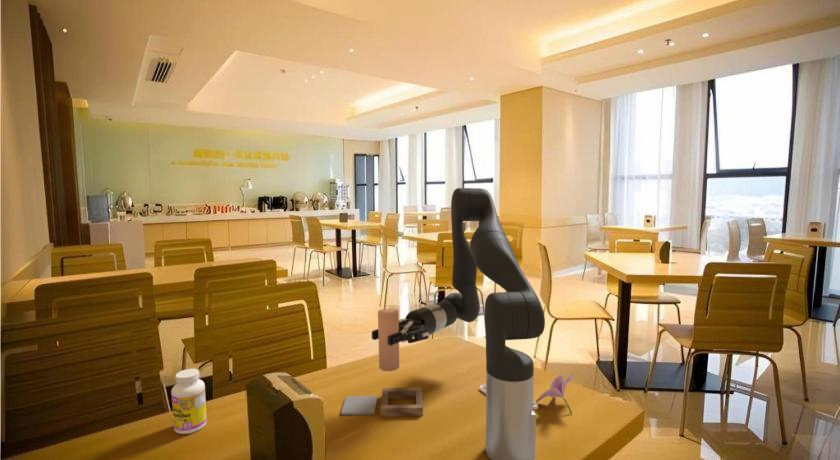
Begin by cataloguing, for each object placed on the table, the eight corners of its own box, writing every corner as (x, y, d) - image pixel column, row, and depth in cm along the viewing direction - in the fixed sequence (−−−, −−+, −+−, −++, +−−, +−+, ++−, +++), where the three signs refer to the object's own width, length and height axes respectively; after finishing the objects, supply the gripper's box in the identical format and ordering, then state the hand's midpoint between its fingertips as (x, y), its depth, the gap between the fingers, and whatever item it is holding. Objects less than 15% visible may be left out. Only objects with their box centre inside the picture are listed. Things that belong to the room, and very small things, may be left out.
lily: (580, 401, 107) (563, 365, 110) (600, 406, 96) (581, 365, 99) (538, 420, 106) (522, 382, 108) (554, 427, 94) (535, 385, 97)
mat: (377, 397, 108) (377, 395, 108) (374, 414, 100) (374, 412, 100) (345, 398, 108) (345, 396, 108) (340, 415, 100) (340, 413, 100)
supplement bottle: (166, 432, 93) (162, 377, 92) (190, 417, 100) (187, 365, 98) (190, 437, 91) (186, 381, 90) (213, 421, 98) (210, 368, 96)
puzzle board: (421, 394, 109) (421, 387, 109) (422, 415, 99) (422, 407, 99) (383, 395, 109) (383, 388, 109) (380, 416, 99) (380, 408, 99)
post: (399, 362, 106) (398, 308, 104) (399, 371, 101) (398, 314, 100) (379, 362, 106) (378, 308, 104) (378, 371, 101) (377, 314, 99)
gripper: (406, 302, 118) (360, 317, 105) (447, 312, 108) (401, 329, 95) (407, 328, 118) (361, 346, 106) (447, 340, 109) (402, 361, 96)
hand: (380, 338), depth 101 cm, fingers closed on post, 5 cm apart
